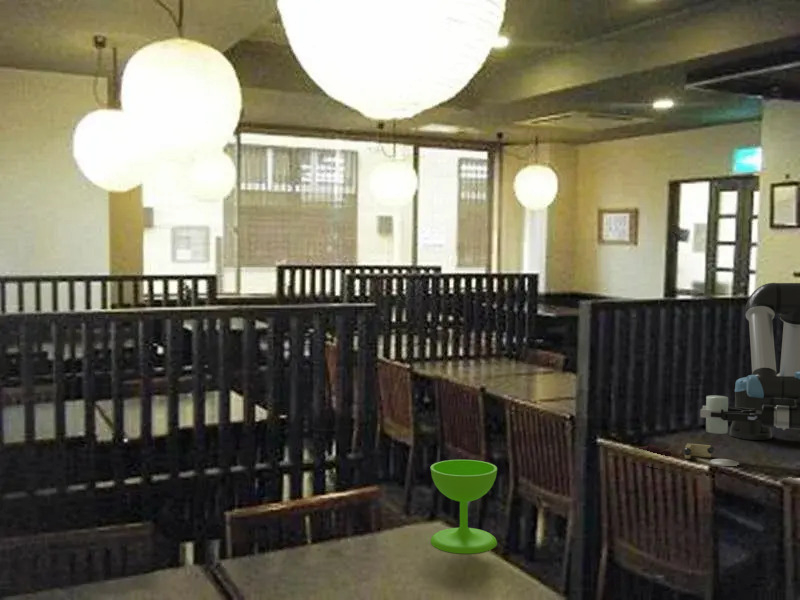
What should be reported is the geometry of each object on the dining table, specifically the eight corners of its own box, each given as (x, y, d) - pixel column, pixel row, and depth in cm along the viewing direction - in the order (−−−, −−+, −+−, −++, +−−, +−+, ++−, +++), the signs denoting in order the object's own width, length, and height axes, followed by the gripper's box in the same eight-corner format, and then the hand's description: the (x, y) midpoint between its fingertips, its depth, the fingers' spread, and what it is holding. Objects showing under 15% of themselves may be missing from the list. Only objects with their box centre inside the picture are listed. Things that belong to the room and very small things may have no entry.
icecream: (624, 443, 266) (665, 454, 255) (635, 435, 270) (676, 445, 260) (625, 462, 268) (666, 473, 257) (636, 453, 272) (677, 464, 262)
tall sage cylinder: (706, 428, 275) (707, 394, 275) (728, 430, 272) (728, 396, 272) (705, 432, 269) (705, 397, 269) (727, 434, 266) (727, 399, 266)
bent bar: (685, 453, 278) (686, 442, 278) (714, 456, 273) (715, 445, 273) (682, 459, 270) (683, 447, 270) (712, 462, 266) (712, 450, 266)
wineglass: (476, 527, 199) (476, 457, 198) (509, 547, 184) (509, 471, 184) (419, 536, 193) (419, 463, 192) (449, 557, 178) (449, 479, 177)
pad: (711, 459, 269) (711, 457, 269) (739, 462, 265) (739, 460, 265) (708, 465, 261) (708, 463, 261) (738, 468, 257) (738, 466, 257)
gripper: (774, 433, 254) (698, 427, 264) (774, 422, 272) (703, 417, 282) (774, 410, 254) (699, 405, 264) (774, 400, 271) (704, 396, 281)
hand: (701, 411), depth 273 cm, fingers closed on tall sage cylinder, 7 cm apart
